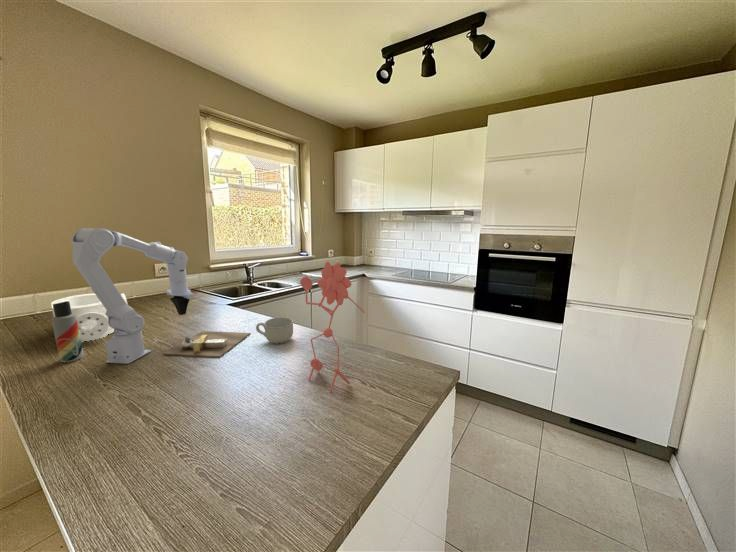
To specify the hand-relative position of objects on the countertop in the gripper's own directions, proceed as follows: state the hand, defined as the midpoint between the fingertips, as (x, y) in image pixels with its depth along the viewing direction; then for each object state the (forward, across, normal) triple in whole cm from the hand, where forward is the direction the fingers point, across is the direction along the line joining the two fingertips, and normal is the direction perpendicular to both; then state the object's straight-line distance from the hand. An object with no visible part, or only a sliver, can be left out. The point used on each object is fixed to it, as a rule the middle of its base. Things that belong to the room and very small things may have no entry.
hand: (182, 314), depth 116 cm
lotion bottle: (+10, +14, +29) cm, 34 cm away
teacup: (+10, -36, -14) cm, 39 cm away
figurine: (+10, -71, -2) cm, 72 cm away
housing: (+10, +41, +13) cm, 44 cm away
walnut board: (+9, -16, 0) cm, 18 cm away
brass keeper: (+9, -18, +5) cm, 20 cm away
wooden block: (+9, -17, +4) cm, 20 cm away
